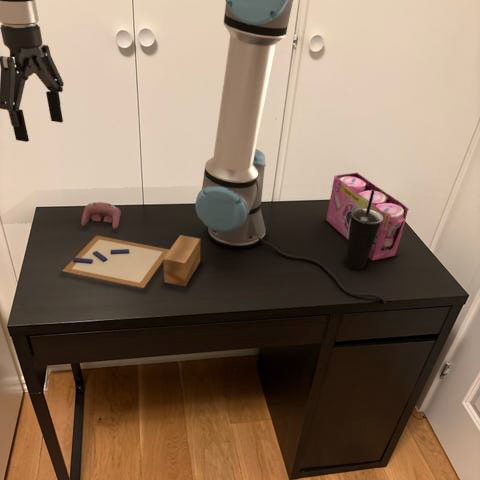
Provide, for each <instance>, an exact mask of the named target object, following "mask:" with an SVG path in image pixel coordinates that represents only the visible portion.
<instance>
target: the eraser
mask: <svg viewBox="0 0 480 480" xmlns="http://www.w3.org/2000/svg"><path fill="white" fill-rule="evenodd" d="M200 263H201V238H198V237H193V236H188V235H182V234H180V235H179V236H178V238H177V239H176V240H175V242H174V243H173V244H172V246H171V247H170V249H169V252H168V253H167V255H166V256H165V257H164V259H163V281H164V283H166V284H169V285H170V284H171V285H175V286H179V287H184V288H185V287H186V286H187V285H188V283H189V282H190V280H191V278H192V276H193V274H194V273H195V271H196V270H197V268H198V266H199V264H200Z"/></svg>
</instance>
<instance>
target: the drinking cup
mask: <svg viewBox="0 0 480 480" xmlns="http://www.w3.org/2000/svg"><path fill="white" fill-rule="evenodd" d="M373 195H374V190H372V191H371V195H370V199H369V203H368V207H367V209H365V208H364V209H363V208H361V209H355V210H353V211H352V212H351V214H350V217H351V222H350V230H349V238H348V239H347V247H346V255H345V266H346V268H348V269H350V270H354V271H361V270H363V269H364V268H365V267H366V264H367V261H368V259H369V258H368V256H369V253H370V251H371V248H372V245H373V243H374V240H375V237H376V235H377V232H378V229H379V227H380V224H381V223H382V222H383V216H382V215H381V214H380V213H378V212H376V211H374V210H371V209H370V208H371V204H372V199H373Z"/></svg>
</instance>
